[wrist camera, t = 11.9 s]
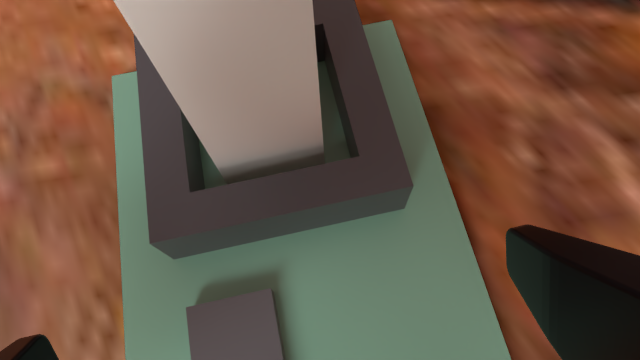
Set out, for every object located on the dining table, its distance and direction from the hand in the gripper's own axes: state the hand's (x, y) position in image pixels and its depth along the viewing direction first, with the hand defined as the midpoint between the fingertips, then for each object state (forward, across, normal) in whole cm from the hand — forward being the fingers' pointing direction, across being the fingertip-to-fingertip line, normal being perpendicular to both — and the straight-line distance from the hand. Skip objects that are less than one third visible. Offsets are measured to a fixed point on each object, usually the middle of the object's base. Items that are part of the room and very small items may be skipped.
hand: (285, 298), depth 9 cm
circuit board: (+9, 0, +3) cm, 9 cm away
